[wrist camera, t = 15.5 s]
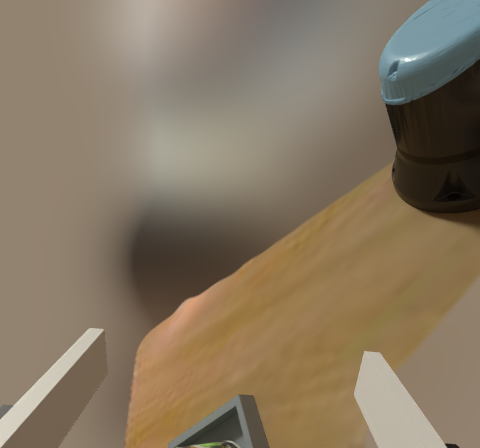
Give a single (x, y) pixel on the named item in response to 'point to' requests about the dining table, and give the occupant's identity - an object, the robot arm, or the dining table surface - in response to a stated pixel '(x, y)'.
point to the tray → (227, 426)
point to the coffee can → (215, 445)
